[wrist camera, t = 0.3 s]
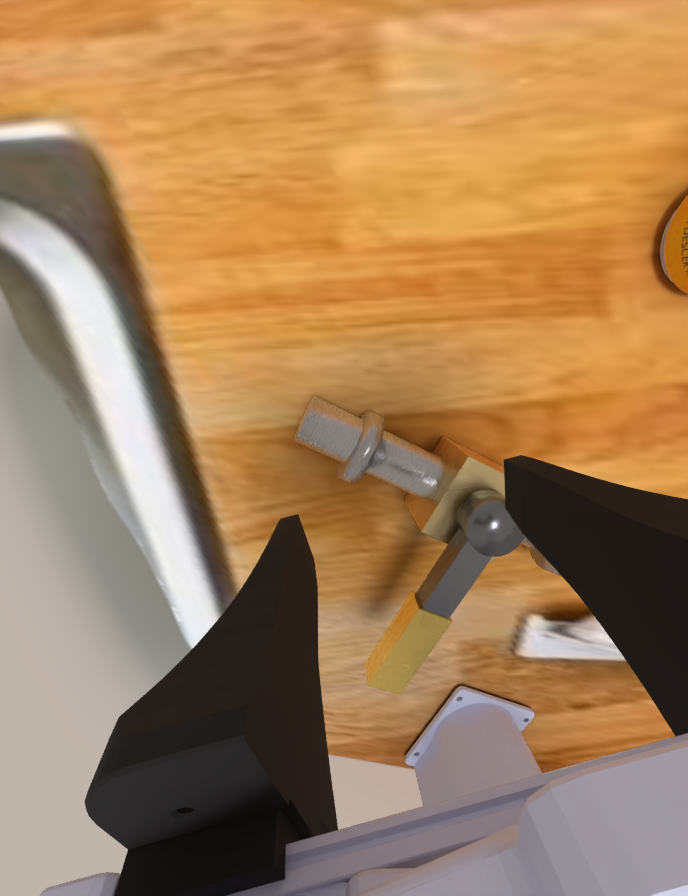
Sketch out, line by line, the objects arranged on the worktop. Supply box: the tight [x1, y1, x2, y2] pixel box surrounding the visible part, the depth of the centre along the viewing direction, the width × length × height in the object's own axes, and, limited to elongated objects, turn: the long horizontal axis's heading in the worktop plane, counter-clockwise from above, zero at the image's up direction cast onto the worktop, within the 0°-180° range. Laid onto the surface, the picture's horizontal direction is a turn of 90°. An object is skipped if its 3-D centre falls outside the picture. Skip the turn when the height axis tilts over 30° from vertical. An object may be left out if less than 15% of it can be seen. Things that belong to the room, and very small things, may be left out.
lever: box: [365, 490, 525, 695], centre depth 20 cm, size 14×3×2 cm, turn 153°
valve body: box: [293, 396, 560, 575], centre depth 22 cm, size 5×22×4 cm, turn 63°
